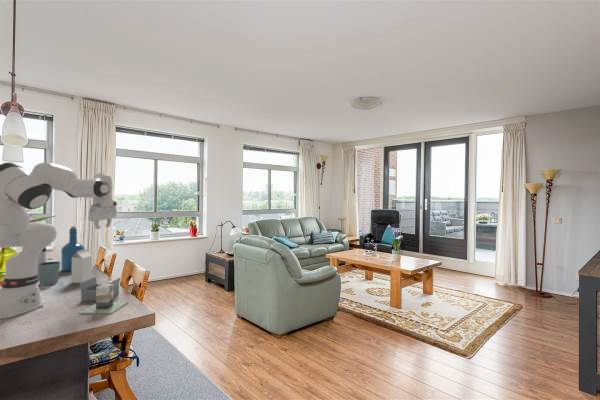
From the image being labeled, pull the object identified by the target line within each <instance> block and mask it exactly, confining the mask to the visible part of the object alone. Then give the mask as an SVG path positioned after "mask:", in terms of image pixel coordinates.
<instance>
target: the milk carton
mask: <svg viewBox="0 0 600 400" xmlns="http://www.w3.org/2000/svg"><path fill="white" fill-rule="evenodd" d="M92 256H93V255H92V254H90V253H89V252H88V250H87V249H85V250H80V251H77V253H76V254H75V255H74V256H73V257H72V271H71V284H80V283H81V282H84V281H86V280H89V279H91V278H92V270H93V269H92V264H93V263H92V258H93V257H92Z"/></svg>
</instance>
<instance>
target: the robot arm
mask: <svg viewBox="0 0 600 400" xmlns="http://www.w3.org/2000/svg"><path fill="white" fill-rule="evenodd" d="M52 190H55V191H62V192H64V193H65V194H66V195H67V196H68V197H71V198H75V199H77V198H89V199H90V198H93V203H92V204H91V205H90V207H89V211H88V221H89V222H93V224H94V229H95V230H100V229H101V225H100V221H106V223H105V228H110V227H111V223H112V221H113V219H116V217H117V206H118V202H117V201H114V199H113V196H112V192H113V180H112V176H111V175H110V174H108V173H107V174H106V173H96V174H95V175H94V178H92V179H87V178H86V179H85V178H78V175H77V174H76V172H75V171H74V170H72V169H71V168H69V167H66V166H64V165H60V164H57V163H52V162H40V163H37V164H36V165H34V167H33V169H32V171H31V172H28V171H27V170H25V169H24V167H23V166H20V165H19V164H16V163H13V162H4V163H1V164H0V248H22V250H21V252H20V253H17V254H14V255H11V257H9V258H8V259H7V260H6V261H5V277H4V279H3V280H2V281H1V280H0V286H1V288H0V320H1V319H3V320H4V319H9V318H13V317H16V316H20V315H22V314H25V313H27V312H28V313H29V312H30V311H34V310H36V309H38V308H41V307H43V306H44V303H43V302H42V298H41V291H40V287H39V285H38V283H39V277H38V274H37V264H38V258H39V255H40V253H41V252H42V250H43V249H44V248H45V247H46V248H47V247H48V246H49V245H51V244H52V243H53V242H54V241H55V239H56V238H57V234H58V233H57V229H56V228H55V226H54V225H53V224H52V223H45V222H31V221H30V220H31V219H30V216H29V214H28V212H27V210H36V209H39V208H41V207H43V206H44V205H46V203H48V201H49V200H50V198H51V194H52ZM26 209H27V210H26Z"/></svg>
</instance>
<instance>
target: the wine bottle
mask: <svg viewBox="0 0 600 400" xmlns="http://www.w3.org/2000/svg"><path fill="white" fill-rule="evenodd" d="M68 234H69V236H68V238H69V242H68V243H66V244H65V245H63V246H62V248H61V250H60V269H61V272H68V273H69V272H72V257H73V256H74V255H75V254H76V253H77V251H80V250H85V246H83V244H81V243H78V231H77V227H76V226H73V225H72V226H70V229H69V232H68Z"/></svg>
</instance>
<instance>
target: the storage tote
mask: <svg viewBox="0 0 600 400" xmlns="http://www.w3.org/2000/svg"><path fill="white" fill-rule="evenodd" d="M120 281H121V276H118V277H117V278H115V279H112V280H110V281H107V282H106V284H113V298H114V297H116V296H117V295H119V294H120ZM100 285H102V283H97V277H96V276H93V277H91V279H89V280H86V281H84V282H81V283H79V287H80V292H81V293H80V295H81V296H80V298H81V299H80V301H81V302H96V287H98V286H100Z"/></svg>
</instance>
